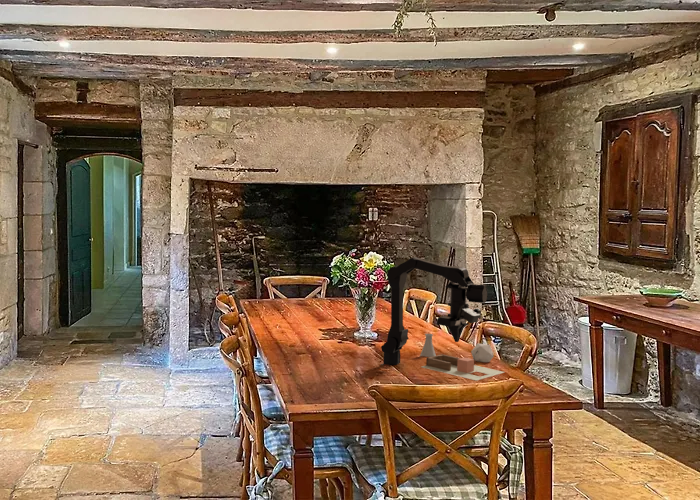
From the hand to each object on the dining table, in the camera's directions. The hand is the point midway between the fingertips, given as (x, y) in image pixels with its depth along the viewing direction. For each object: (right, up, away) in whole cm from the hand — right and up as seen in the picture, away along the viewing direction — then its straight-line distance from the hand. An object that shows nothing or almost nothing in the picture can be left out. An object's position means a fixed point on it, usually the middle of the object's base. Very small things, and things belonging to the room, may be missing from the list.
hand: (456, 341), depth 263 cm
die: (+14, -12, +22) cm, 29 cm away
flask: (-7, -11, +29) cm, 32 cm away
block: (+4, -12, +4) cm, 13 cm away
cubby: (-3, -11, +11) cm, 15 cm away
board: (+3, -13, +6) cm, 14 cm away
